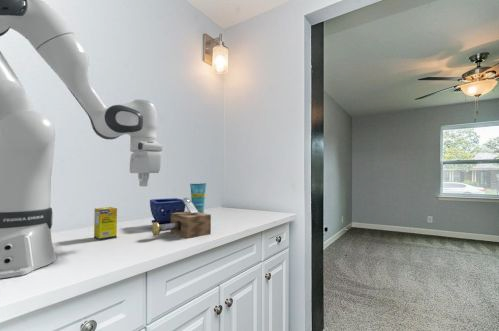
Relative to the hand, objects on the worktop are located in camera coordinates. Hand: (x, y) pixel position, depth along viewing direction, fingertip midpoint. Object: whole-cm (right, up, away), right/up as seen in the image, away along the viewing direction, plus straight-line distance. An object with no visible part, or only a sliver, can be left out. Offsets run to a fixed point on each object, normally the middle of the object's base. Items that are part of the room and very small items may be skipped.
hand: (143, 186), depth 89 cm
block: (+14, -20, +12) cm, 27 cm away
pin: (+8, -18, +7) cm, 21 cm away
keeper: (+13, -9, +13) cm, 20 cm away
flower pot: (0, -20, +25) cm, 32 cm away
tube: (+14, -20, +27) cm, 36 cm away
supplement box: (-16, -20, +4) cm, 25 cm away
